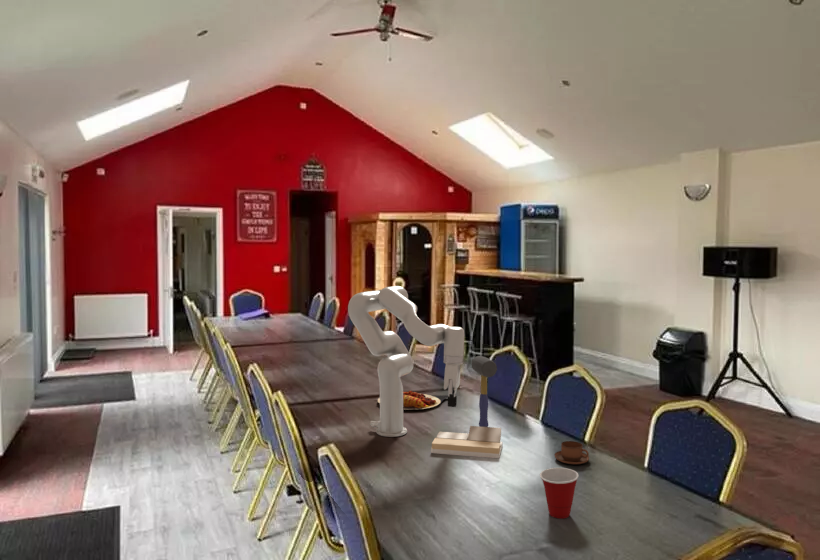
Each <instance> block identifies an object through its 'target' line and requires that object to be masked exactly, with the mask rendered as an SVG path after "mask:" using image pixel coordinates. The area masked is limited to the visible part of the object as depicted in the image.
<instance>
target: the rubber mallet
mask: <svg viewBox="0 0 820 560" xmlns="http://www.w3.org/2000/svg"><path fill="white" fill-rule="evenodd" d="M470 365H471V368H472V369H473V371H475V372H476V373H477V374H478V375H480V395H479V401H478V402H479V403H478V404H479V405H478V407H479V421H478V426H479V427H489V421H488V419H489V418H488V415H489V414H488V412H489V397H488V378H491V377H494V376H495V375H496V374H497V371H498V366H497V364H496V362H494V360H492V359H490V358H488V357H486V356H482V355H477V356H475V357H473V359H472V361H471V364H470Z"/></svg>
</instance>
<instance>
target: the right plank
mask: <svg viewBox="0 0 820 560" xmlns="http://www.w3.org/2000/svg"><path fill="white" fill-rule="evenodd" d="M468 434H469V437H468V440H469V441H483V442H496V443H500V442H501V438H502V427H493V426H492V427H491V426H488V427H479V425H478V426H477V425H476V426H475V425H470V426H469V432H468Z"/></svg>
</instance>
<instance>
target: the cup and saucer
mask: <svg viewBox="0 0 820 560" xmlns="http://www.w3.org/2000/svg"><path fill="white" fill-rule="evenodd" d="M560 447H561V449H560V450H559V451H557V452H555V453H554V459H556V460H557V461H559V462H560V463H563V464H567V465H583V464H585V463H587V462H589V460H590V456H589V452H588V450H587V449H584V448H583V443H581V442H578V441H573V440H567V441H566V440H565V441H562V442H561V446H560Z"/></svg>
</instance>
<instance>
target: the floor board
mask: <svg viewBox="0 0 820 560" xmlns="http://www.w3.org/2000/svg"><path fill="white" fill-rule="evenodd" d="M502 450H503V441H500V443H496V442H483V441H469V440H455V439H441V438H436V437H434V439H433V441H432V442H431V448H430V452H431V454H436V455H437V454H438V455H439V454H441V455H450V456H464V457H465V456H466V457H477V458H478V457H479V458H491V459H500V458H501V452H502Z"/></svg>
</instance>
